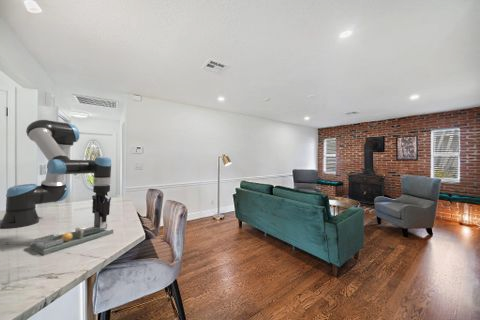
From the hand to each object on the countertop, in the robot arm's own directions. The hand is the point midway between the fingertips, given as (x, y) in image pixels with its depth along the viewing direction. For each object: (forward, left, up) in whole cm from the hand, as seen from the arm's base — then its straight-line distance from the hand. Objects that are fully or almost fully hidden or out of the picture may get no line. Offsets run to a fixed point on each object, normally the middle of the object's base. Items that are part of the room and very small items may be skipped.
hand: (100, 226), depth 104 cm
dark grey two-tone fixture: (0, -4, -2) cm, 4 cm away
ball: (0, -14, -1) cm, 15 cm away
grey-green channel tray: (0, -11, -3) cm, 11 cm away
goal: (0, -21, -3) cm, 21 cm away
